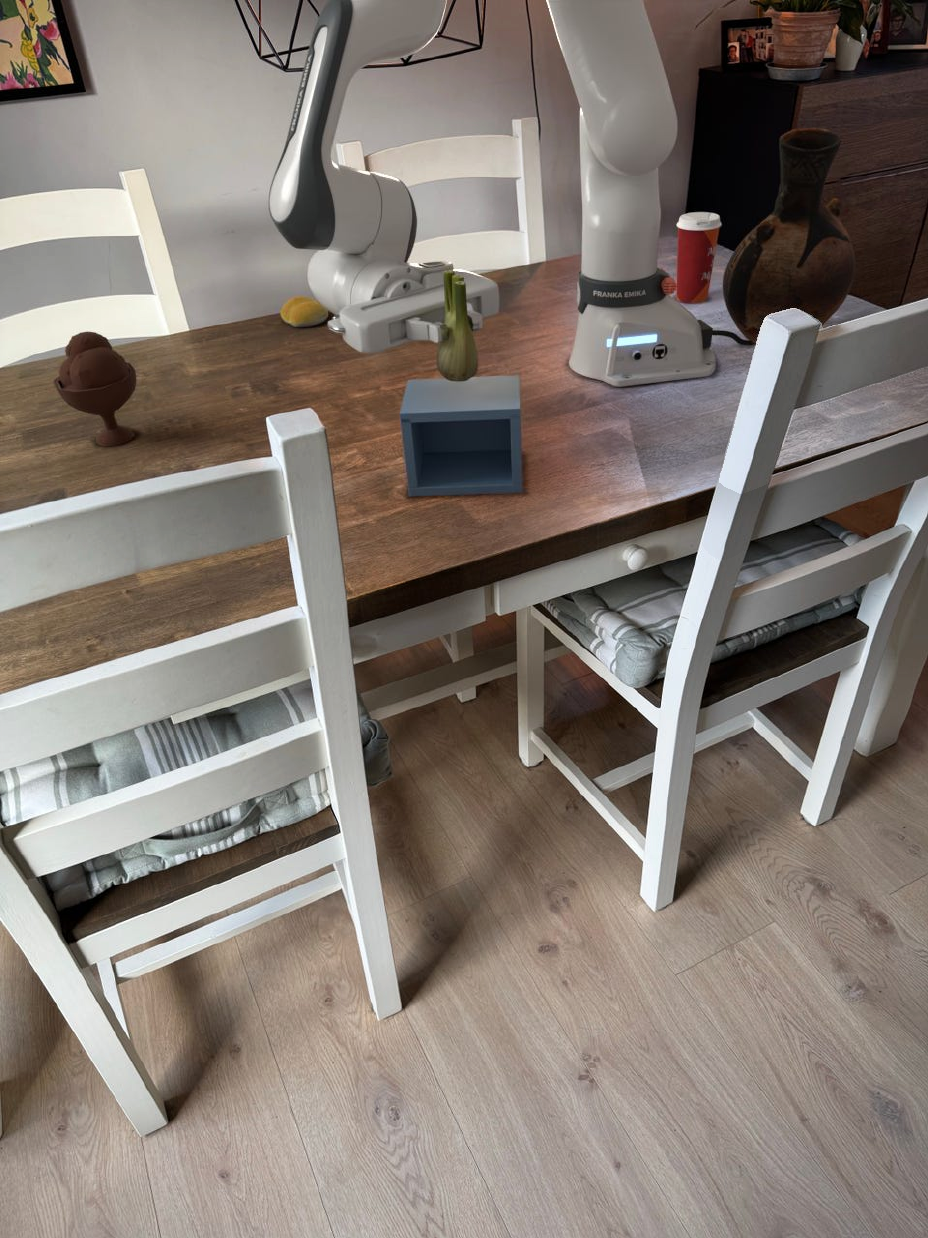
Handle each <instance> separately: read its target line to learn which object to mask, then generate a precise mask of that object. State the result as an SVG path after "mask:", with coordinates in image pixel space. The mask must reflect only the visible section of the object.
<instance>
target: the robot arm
mask: <svg viewBox="0 0 928 1238" xmlns="http://www.w3.org/2000/svg"><path fill="white" fill-rule="evenodd" d="M447 1H448V0H328V1H327V2H326V3H325V5H324V6H323V7H322V9H321V11H320V13H319V16H318V18H317V21H316V24H315V27H314V30H313V34H312V37H311V39H310V44H309V47H308V50H307V54H306V58H305V62H304V66H303V70H302V75H301V78H300V83H299V88H298V91H297V96H296V98H295V99H296V100H295V104H294V107H293V112H292V117H291V120H290V125H289V129H288V131H287V137H286V140H285V144H284V147H283V151H282V153H281V156H280V159H279V161H278V164H277V167H276V169H275V171H274V174H273V177H272V180H271V184H270V187H269V193H268V212H269V216H270V219H271V221H272V222H273V223H274V226H275V227H276V229H277V231H278V232H279V233H280V235H281V236H282V237H283V239H284V240H285V241H286V242H287V243H288V244H289V245H290V246H291V247H292V248H294V249H298V250H313V251H316V252H315V253H314V254H313V255H312V257H311V259H310V261H309V263H308V266H307V282H308V286H309V288H310V291H311V293H312V295H313V296H314V298H315V299H316V300H317V302H319V303H320V304H321V305H322V306H323V307H325V308H326V309H327V310H328V312H330V313H332V314H333V315H334V316H332V319H331V320H328V321H327V327H328V330H330V331H332V332H333V333H336V334H341V336H342V340H343V341H344V342H345V343H346V344H347V345H348V346H349V347H351V348H353V350H355V351H356V352H359V353H361V354H367V355H369V354H370V355H372V354H376V353H379V352H383V351H385V350H389V349H392V348H395V347H398V346H401V345H404V344H407V343H411V342H414V341H431V342H433V343H435V344H440V343H441V342H442V341H444V340H447V339H448V338H449V335H448V326H447V325H446V324H445V296H444V279H443V272H444V271H445V270H453V271H454V272H455V275H458V276H463V278H464V282H465V283H466V301H467V314H468V322H469V326H470V328H471V331H472V332H476V331H478V330H481V329H483V327H484V326H483V325H484V323H483V319H486V318H490V317H493V316H495V315H498V313H499V312H500V290H499V286H498V284H497V282H496V281H495V280H493V279H490V278H488V277H485V276H483V275H481V274H477V273H475V272H472V271H468V270H464V269H454V264H453V263H452V262H450V261H446V260H440V261H427V262H419V263H416V262H415V263H414V262H408V261H409V259H410V257H411V254H412V251H413V248H414V246H415V243H416V242H415V241H416V237H417V230H418V216H417V215H418V214H417V209H416V206H415V202H414V200H413V199H414V198H413V196H412V194H411V192H410V190H409V189H408V186H407V185H406V184H405V183H404V182H403V181H402V180H401V179H400V178H397V177H393V176H389V175H385V174H382V173H378V172H374V171H370V170H364V169H359V168H356V167H351V166H347V165H343V164H339V163H334V161H333V159H332V148H333V144H334V140H335V138H336V137H335V136H336V134H337V129H338V125H339V122H340V117H341V114H342V110H343V106H344V102H345V97H346V95H347V90H348V87H349V85H350V82H351V81H352V79H353V78H354V76H355V75H356V74H357V73H358V71H360V70H361V69H363V68H364V67H366V66H368V65H371V64H375V63H379V62H380V63H381V62H386V61H392V60H397V59H398V60H399V59H402V58H403V59H404V58H406V57H409V56H412V55H413V54H415V53H417V52H419V51H421V50H422V49H424V48H425V47H426V46H428V44H429V43H430V42H431V41H432V40H433V39H434V38H435V36H436V35H437V33H438V31H439V30H440V27H441V25H442V22H443V18H444V15H445V10H446V7H447V6H446V5H447ZM546 3H547V7H548V8H549V13H550V17H551V20H552V23H553V27H554V31H555V34H556V37H557V41H558V44H559V47H560V51H561V53H562V55H563V58H564V62H565V65H566V67H567V70H568V74H569V76H570V80H571V82H572V86H573V89H574V92H575V95H576V98H577V101H578V105H579V109H580V110H579V157H580V158H579V161H580V162H579V163H580V165H579V166H580V190H581V191H580V193H581V209H582V210H581V211H582V212H581V213H582V215H581V216H582V218H581V220H582V221H581V222H582V223H581V269H579V271H578V275H577V280H576V281H577V283H576V307H577V310H578V317H577V327H576V331H575V332H576V333H575V338H574V343H573V347H572V350H571V354H570V358H569V360H568V366H569V368H570V369H571V370H572V371H573V372H575V373H576V374H578V375H580V376H583V377H586V378H589V379H592V380H593V379H594V380H597V381H598V380H599V381H602V382H605V383H606V384H609V385H610V386H613V387H618V388H619V387H620V388H622V387H630V386H638V385H646V384H647V385H648V384H654V383H656V384H657V383H662V382H672V381H680V380H687V379H695V378H704V377H709V376H711V375H712V374H713V373H714V372H715V371H716V366H717V365H716V364H717V363H716V356H715V353H714V352H713V349H712V342H713V341H712V340H713V336H714V337H715V336H720V337H727V338H730V339H732V340H733V341H734V342H735V343H736V344H738V345H742V346H756V344H755V343H753V342H751V341H750V340H748V339H744V338H741V337H740V336H739V335H738V334H737V333H735V332H732V331H730V330H729V331H728V330H724V329H723V330H722V329H721V330H720V329H714V328H713V327H712V326H711V325H709V324H707V323H706V322H705V321H703V320H702V319H697V317H696V316H695V315H694V314H693V313H692V312H691V311H690V310H688V309H687V308H686V307H685V306H684V305H682V304H681V302H679V301H678V300H677V299H674V297H672V296H671V295H673V294H675V292H676V288H677V286H676V285H677V284H676V280H675V279H674V278H673V277H671V276H670V273H668V272H666V270H665V269H664V268H663V267H661V268H660V267H659V266H658V259H659V258H658V257H659V248H660V247H659V245H660V234H661V233H660V232H661V231H660V229H661V220H662V218H661V217H662V207H661V201H660V199H661V198H660V183H659V167H660V166H661V165H662V164H663V163H664V162H665V161H666V160H667V159H668V157H669V156H670V154H671V153H672V151H673V149H674V146H675V144H676V141H677V136H678V123H679V122H678V115H677V110H676V107H675V102H674V99H673V96H672V92H671V88H670V86H669V80H668V77H667V73H666V71H665V67H664V63H663V60H662V57H661V54H660V50H659V47H658V44H657V41H656V37H655V34H654V32H653V29H652V25H651V22H650V20H649V17H648V14H647V10H646V6H645V4H644V3H645V2H644V0H546Z"/></svg>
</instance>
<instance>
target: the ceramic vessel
mask: <svg viewBox="0 0 928 1238" xmlns="http://www.w3.org/2000/svg"><path fill="white" fill-rule="evenodd" d="M778 143H779V162H780V184H779V187H778V194H777V197H776V200H775V204H774V209H773V211H772V213H770V214H769V215H768V216H767V217H766V218H765V219H763V220H762V221H761V222H760V223H759V224H758V225H756V226H755V227H754V228H753V229H752V230H751V231H750V232H749V233H748V234H747V235H746V236H745V237H744V238H743V240H742V241H741V242H740V243H739V244H738V245H737V247H736V248H735V249H734V251H733V253H732V254H731V256H730V258H729V260H728V262H727V264H726V267H725V269H724V272H723V277H722V295H723V300H724V304H725V308H726V310H727V312H728V315H729V316H730V318H731V320H732V322H733V324H734V325H735V326H736V327H737V329H738V330H739V331H740V333H741V334H742V335H743V337H745V338H746V340H750V341H751V342H753V343H755V344H756V341H757V337H758V334H759V331H760V327H761V325H762V323H763V320H764V318H765V317H766V316H767V315H769V314H771V313H775V312H779V311H782V310H786V309H790V308H797V309H800V310H802V311H804V312H806V313H808V314H810V315H812V316H813V317H814V318H816V319H818V320H819V321H820V322H821V323H822V327H823V326H824V325H825V324H826V323H827V322H828V321H829V320H830V319H831V318H832V317H833V316H834V315H835V314H836V312H837V311H838V310H839V309H840V308H841V306H842V305H843V304H844V303H845V300H846V298H847V297H848V295H849V293H850V291H851V289H852V285H853V283H854V279H855V275H856V256H855V250H854V247H853V243H852V240H851V238H850V234H849V233H848V231H847V229H846V228H845V227H844V225H843V222H842V219H841V213H842V201H841V200H840V199H839V198H836V197H835V198H832V200H830V201H829V202H828V203H827V204H826V205H825V206H824V207H823V206H822V200H823V193H824V190H825V185H826V181H827V177H828V175H829V172H830V170H831V167H832V165H833V162H834V160H835V158H836V156H837V154H838V152H839V149H840V146H841V144H842V139H841V137H840V136H839V135H838V134H837V133H835V132H833V131H831V130H829V129H826V128H821V127H808V128H807V127H806V128H805V127H804V128H794V129H791V130H789V131H786V132H785V133H783V134H782V135H781V136H780V137H779V141H778Z"/></svg>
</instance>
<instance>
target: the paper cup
mask: <svg viewBox="0 0 928 1238" xmlns="http://www.w3.org/2000/svg"><path fill="white" fill-rule="evenodd" d="M722 225H723V223H722V222H721V217H720V215H719V214H717V213H715V212H708V211H694V212H688V213H683V214H681V215H680V216H679V219H678V221H677V222H676V227H677V249H676V250H677V252H676V253H677V254H676V280H675V283H676V284H677V285H676V286H677V288H676V291H675V298H676V299H675V300H676V301H677V302H679V303H685V304H698V303H704V302H705V301H707V300H708V298H709V297H708V296H709V291H710V285H711V280H712V273H713V270H714V269H713V267H714V263H715V256H716V250H717V244H718V239H719V232H720V228H721V227H722Z"/></svg>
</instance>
